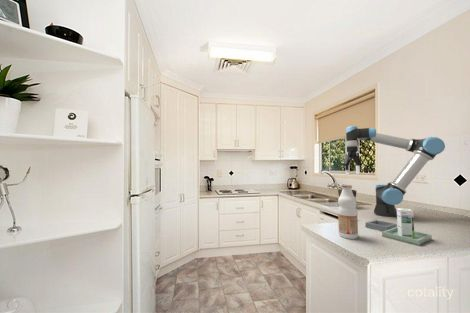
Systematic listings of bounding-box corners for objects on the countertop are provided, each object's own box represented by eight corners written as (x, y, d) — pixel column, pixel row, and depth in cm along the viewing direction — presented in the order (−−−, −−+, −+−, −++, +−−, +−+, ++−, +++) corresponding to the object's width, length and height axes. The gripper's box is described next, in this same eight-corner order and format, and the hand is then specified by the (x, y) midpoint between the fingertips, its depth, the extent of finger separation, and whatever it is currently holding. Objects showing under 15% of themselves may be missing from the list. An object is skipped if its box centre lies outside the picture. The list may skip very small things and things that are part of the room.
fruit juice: (337, 237, 117) (336, 185, 118) (339, 232, 125) (338, 184, 126) (357, 240, 112) (355, 186, 113) (358, 235, 120) (357, 184, 121)
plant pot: (355, 207, 196) (355, 189, 197) (358, 210, 183) (358, 191, 183) (337, 206, 202) (337, 189, 202) (339, 209, 188) (338, 190, 189)
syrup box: (401, 237, 113) (400, 209, 113) (397, 234, 118) (396, 207, 119) (414, 238, 111) (413, 210, 111) (410, 235, 116) (409, 208, 117)
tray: (396, 231, 125) (395, 227, 125) (431, 239, 112) (431, 234, 112) (382, 236, 117) (382, 231, 117) (418, 245, 103) (418, 240, 104)
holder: (375, 224, 140) (375, 219, 141) (397, 229, 130) (396, 224, 130) (365, 227, 134) (365, 222, 134) (387, 232, 124) (386, 227, 124)
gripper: (356, 147, 174) (357, 173, 174) (337, 146, 162) (338, 174, 161) (366, 146, 168) (367, 173, 167) (347, 145, 155) (348, 174, 154)
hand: (353, 174), depth 164 cm, fingers open, 13 cm apart
